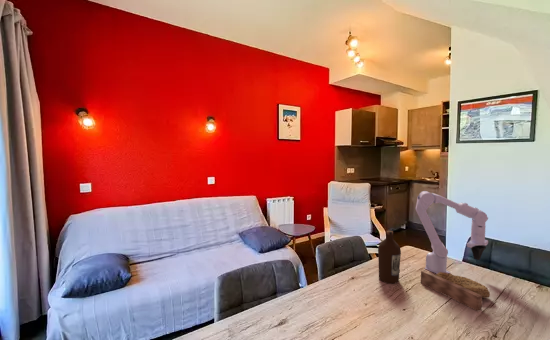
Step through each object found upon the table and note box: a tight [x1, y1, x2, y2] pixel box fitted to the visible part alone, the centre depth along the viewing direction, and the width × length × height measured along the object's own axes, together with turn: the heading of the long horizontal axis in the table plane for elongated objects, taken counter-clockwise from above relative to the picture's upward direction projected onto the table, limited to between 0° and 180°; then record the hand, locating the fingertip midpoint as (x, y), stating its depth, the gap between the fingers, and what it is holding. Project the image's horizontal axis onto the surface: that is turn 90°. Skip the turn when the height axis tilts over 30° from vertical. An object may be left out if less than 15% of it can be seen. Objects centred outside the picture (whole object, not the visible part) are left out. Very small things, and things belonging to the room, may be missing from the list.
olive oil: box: [377, 230, 402, 285], centre depth 135 cm, size 11×11×25 cm
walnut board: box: [420, 269, 483, 312], centre depth 120 cm, size 26×2×6 cm, turn 23°
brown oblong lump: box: [435, 272, 491, 299], centre depth 124 cm, size 13×8×20 cm
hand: (476, 259), depth 138 cm, fingers closed
